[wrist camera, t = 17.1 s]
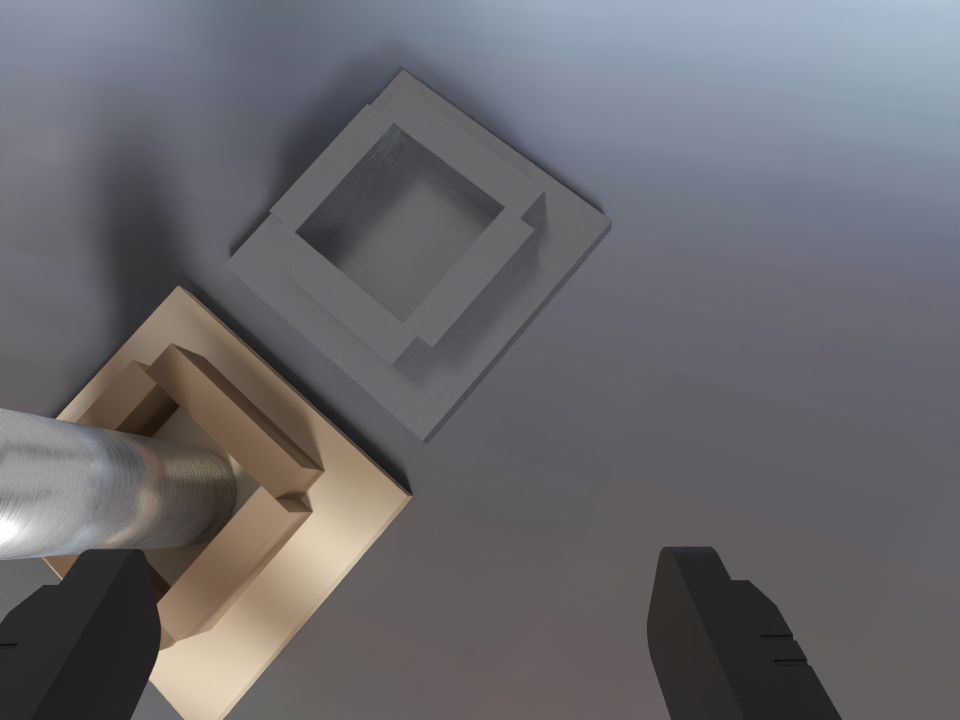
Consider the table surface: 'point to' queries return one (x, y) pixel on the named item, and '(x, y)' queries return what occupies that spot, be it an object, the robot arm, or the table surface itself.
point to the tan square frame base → (237, 500)
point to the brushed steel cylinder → (104, 489)
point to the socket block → (417, 251)
